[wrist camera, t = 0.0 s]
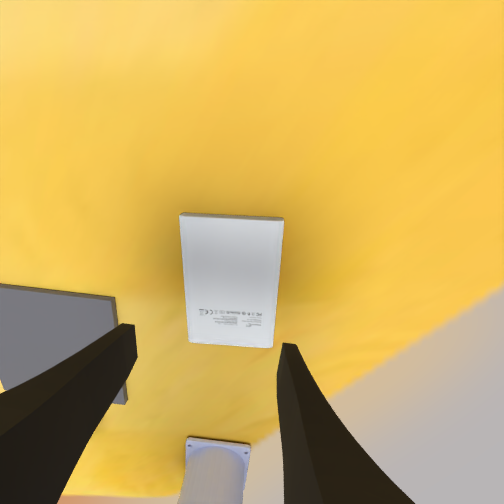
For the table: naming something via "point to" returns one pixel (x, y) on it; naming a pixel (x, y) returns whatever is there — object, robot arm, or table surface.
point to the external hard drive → (231, 277)
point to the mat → (49, 330)
